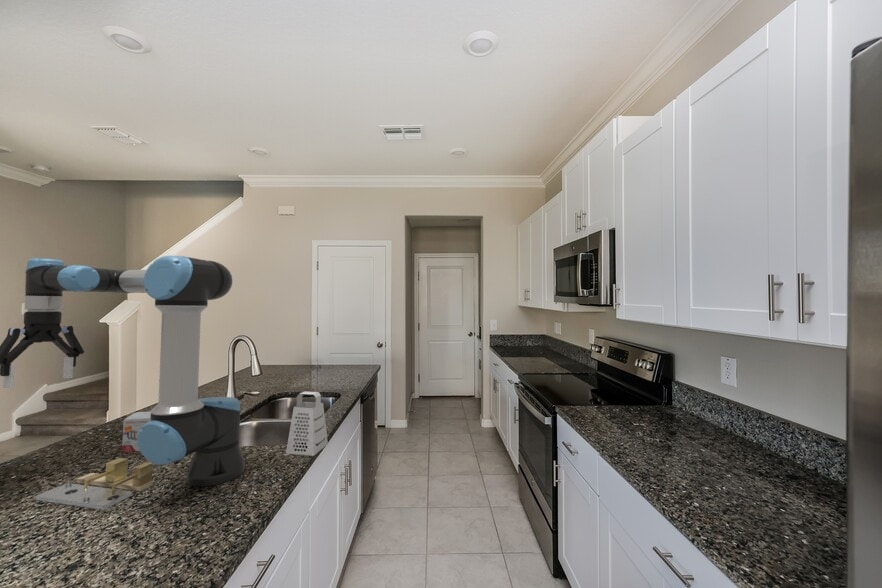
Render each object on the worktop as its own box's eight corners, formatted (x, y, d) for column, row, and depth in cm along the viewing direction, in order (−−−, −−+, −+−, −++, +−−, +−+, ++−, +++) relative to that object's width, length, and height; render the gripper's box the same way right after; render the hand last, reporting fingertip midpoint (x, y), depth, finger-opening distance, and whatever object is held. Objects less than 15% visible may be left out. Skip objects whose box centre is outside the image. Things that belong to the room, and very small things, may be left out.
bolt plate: (131, 495, 97) (132, 490, 97) (103, 509, 90) (103, 504, 90) (67, 486, 101) (68, 481, 101) (35, 499, 94) (35, 494, 94)
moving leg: (127, 476, 104) (128, 458, 104) (88, 493, 95) (89, 474, 95) (118, 475, 105) (119, 457, 105) (79, 492, 95) (80, 473, 96)
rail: (152, 484, 103) (153, 462, 103) (116, 503, 93) (117, 478, 93) (91, 476, 107) (92, 455, 107) (50, 493, 97) (51, 470, 97)
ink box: (120, 453, 124) (122, 418, 124) (134, 444, 132) (135, 411, 132) (150, 450, 126) (151, 416, 126) (161, 441, 134) (162, 410, 135)
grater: (313, 455, 124) (315, 397, 125) (285, 453, 126) (287, 395, 126) (327, 444, 134) (329, 390, 135) (302, 442, 136) (303, 388, 137)
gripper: (82, 310, 120) (79, 373, 119) (-28, 311, 95) (-32, 391, 95) (100, 310, 118) (97, 375, 118) (-7, 311, 94) (-11, 393, 93)
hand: (40, 382), depth 106 cm, fingers open, 13 cm apart
